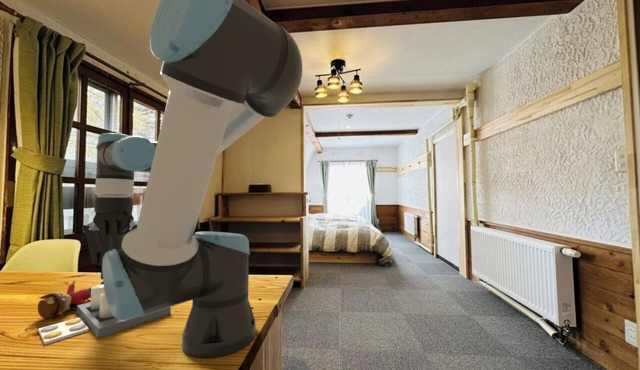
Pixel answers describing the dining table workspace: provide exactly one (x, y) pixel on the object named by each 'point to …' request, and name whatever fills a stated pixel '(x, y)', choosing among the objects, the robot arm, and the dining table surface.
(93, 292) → the button far left
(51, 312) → the toy
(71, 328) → the card
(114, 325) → the board
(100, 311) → the button near left
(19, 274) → the dining table surface
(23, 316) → the dining table surface
